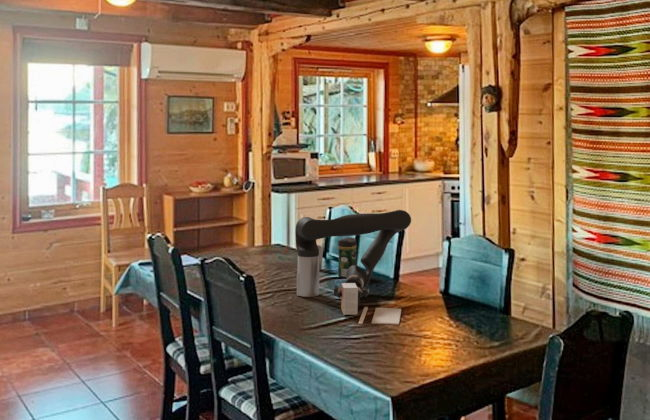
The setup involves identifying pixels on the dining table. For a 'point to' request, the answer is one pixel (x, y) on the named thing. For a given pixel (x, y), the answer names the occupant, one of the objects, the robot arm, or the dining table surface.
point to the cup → (320, 255)
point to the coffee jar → (346, 255)
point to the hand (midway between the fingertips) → (348, 296)
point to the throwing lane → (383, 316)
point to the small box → (349, 298)
